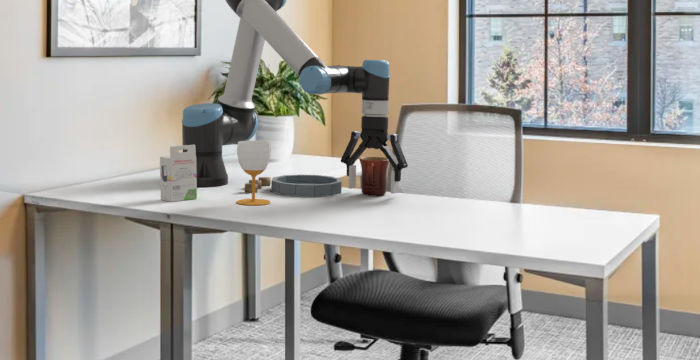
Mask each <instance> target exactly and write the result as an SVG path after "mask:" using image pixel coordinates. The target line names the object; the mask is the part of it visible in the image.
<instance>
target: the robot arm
mask: <svg viewBox="0 0 700 360" xmlns="http://www.w3.org/2000/svg"><path fill="white" fill-rule="evenodd" d="M225 2H226V4H227V5H228V6H229V8H230V9H231V10H232V11H233V12H234V13H235V14H236V15H237V17H238V18H239V21H238V22H239V23H238V26H237V32H236V36H235V40H234V47H233V50H232V51H233V52H232V56H231V58H230V59H231V60H230V64H229V69H228V73H227V74H228V75H227V77H226V78H227V79H226V82H225V87H224V92H223V94H221V95H219V96H218V98H217V101H216V103H212V102H211V103H209V102H208V103H207V102H205V103H198V104H197V103H196V104H192V105H188V106H186V107H185V108H184V109H183V111H182V119H181V123H182V126H181V127H182V128H181V129H182V136H181V137H182V145H195V149H196V174H197V187H217V186H224V185H228V183H229V176H228V175H229V174H228V173H227V170H226V166H225V162H224V158H223V146H232V145H238V142H240V141H251V139H253V137H254V136H255V135H256V133H257V132H258V131H257V130H258V126H259V118H258V117H257V113H256V111H255V108H256V105H255V103H254V102H253V100H252V98H253V94H254V90H255V87H256V81H257V77H258V72H259V68H260V63H261V60H262V59H261V58H262V54H263V50H264V45H265V41H266V42H267V44H268V45H270V47H271V49H273V50H274V51H275V52H276V53H277V54H278V56H279V57H280V58H281V59H282V60H283V61H284V62H285V63H286V64H287V65H288V66H289V67H290V69H292V70H293V71H294V73H295V74H296V75H297V76H298V77H299V83H300V84H299V85H300V87H301V89H302V90H303V91H304V92H305V93H306V94H311V95H318V96H319V95H324V94H327V95H328V94H342V93H344V94H345V93H349V94H361V114H362V116H361V117H360V118H361V122H360V123H361V125H360V126H361V132H360V131H358V130H354V131H351V133H350V140H349V142H348V143H347V146H346V148H345V150H344V152H343V154H342V156H341V159H340V163H343V164H345V165H346V176H347V177H348V189H350V190H352V189H355V188H356V186H357V183H356V182H357V165H356V164H355V163H356V162H357V160H358V159H359V158H361V156H362V154H363V153H364V152H365V150H366V149H369V150H370V149H374V150H380V151H381V152H382V153H383V154H384V157H385V158H387V159H388V160H389V164H390V166H392V168H393V169H391V174H390V175H391V176H390V177H391V178H390V179H391V180H390V194H396V193H398V191H399V182H401V180H402V170H403V169H406V168H408V163H407V160H406V157H405V155H404V152H403V149H402V147H401V145H400V142H399V134H397V133H393V134H389V133H388V132H389V131H388V129H389V117H388V116H387V115H388V114H389V111H390V110H389V109H390V108H389V103H390V102H389V98H390V97H389V93H390V78H391V76H390V74H391V73H390V72H391V71H390V63H389V61H387V60H385V59H364V60H363V61H362V65H361V66H359V65H358V66H353V65H352V66H351V65H340V64H338V65H335V64H334V65H327V64H325V63H324V61H323V60H321V58H319V56H318V55H317V54H316V53H315V52H314V51H313V50H312V49H311V48H310V46H309V45H307V43H305V41H304V40H303V39H302V38H301V37H300V36H299V35H298V34H297V33H296V31H294V29H293V28H292V27H290V25H289V24H288V23H287V22H286V21H285V20H284V19H283V18H282V17H281V15H280V14H278V12H277V11H279V10H281V8H283V7H284V6H285V4H286V2H287V0H225ZM360 139H361V142H360V144H359V145H358V147H357V149H355V148H356V146H357V143H358V141H359V140H360ZM387 141H389V142H390V144H391V147H390V146H389V144H388V143H387ZM391 148H392V150H393V151H392V150H391ZM354 149H355V151H354ZM182 152H187V149H186V150H184V149H182Z"/></svg>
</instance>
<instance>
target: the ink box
mask: <svg viewBox="0 0 700 360" xmlns="http://www.w3.org/2000/svg"><path fill="white" fill-rule="evenodd" d="M183 149H184V150H186V149H187V152H183ZM180 151H182V152H180ZM159 167H160V168H159V174H160V176H159V177H160V179H159V180H160V181H159V182H160V200H161V201H165V202H169V203H175V202H182V201H190V200H196V199H198V197H197V196H198V194H197V192H198V191H197V190H198V189H197V188H198V186H197V174H196V149H195V145H183V144H182V145H174V146H173V145H172V146H170V148H169V155H167V156H166V155H165V156H161V155H160V156H159Z"/></svg>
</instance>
